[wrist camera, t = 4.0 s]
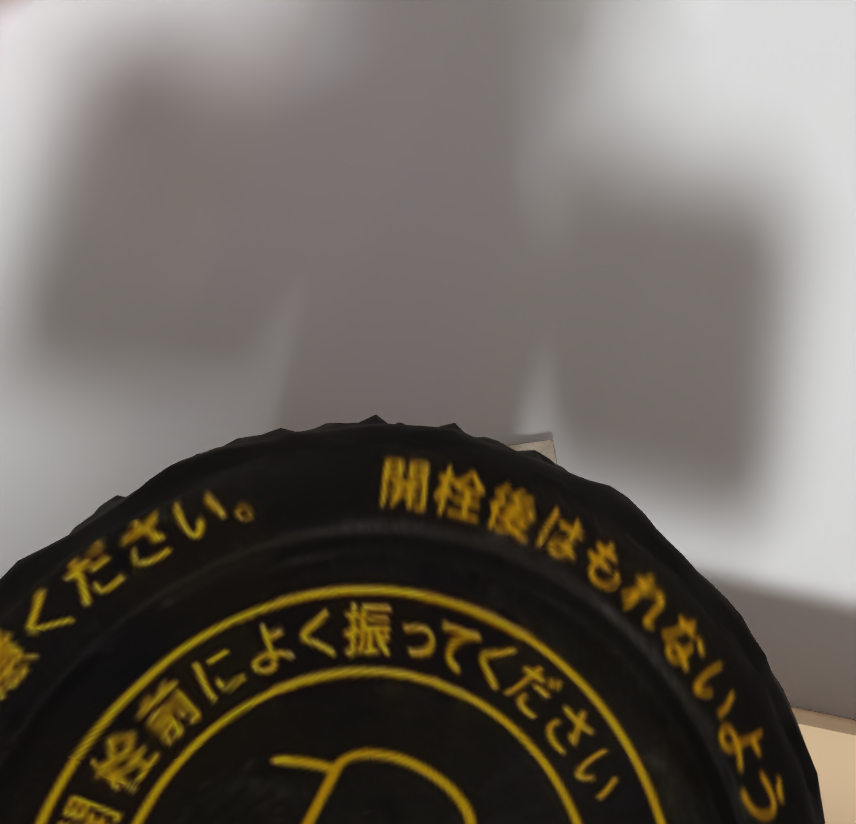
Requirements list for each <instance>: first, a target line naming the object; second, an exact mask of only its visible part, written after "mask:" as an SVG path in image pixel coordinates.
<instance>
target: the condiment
mask: <svg viewBox="0 0 856 824" xmlns="http://www.w3.org/2000/svg"><path fill="white" fill-rule="evenodd" d="M0 824H825V818H824V812H823V806H822V800H821V793H820V787H819V780H818V774H817V771H816V769H815V766H814V764H813V761H812V759H811V756H810V754H809V752H808V749H807V747H806V744H805V741H804V739H803V736H802V733H801V731H800V728H799V726H798V723H797V720H796V718H795V715H794V713H793V711H792V709H791V706H790V704H789V702H788V699H787V697H786V695H785V693H784V690H783V688H782V687H781V685H780V684H779V682H778V681H777V679H776V678H775V676H774V675H773V673H772V671H771V669H770V666H769V664H768V661H767V658H766V656H765V654H764V652H763V651H762V649H761V648H760V646H759V645H758V643H757V642H756V640H755V639H754V637H753V635H752V634H751V632H750V630H749V628H748V627H747V625H746V623H745V621H744V619H743V618H742V616H741V615H740V614H739V612H738V611H737V610H736V609H735V608H734V607H733V606H732V604H731V603H730V602H729V601H728V600H727V599H726V598H725V597H724V596H723V595H722V594H721V593H720V592H719V591H718V590H717V589H716V588H715V587H714V586H713V585H712V584H711V583H710V582H709V581H708V580H707V579H705V578H704V577H703V576H702V575H701V574H700V573H699V572H698V571H697V570H696V569H695V568H694V567H693V566H692V565H691V564H690V563H689V561H688V560H687V559H686V558H685V557H684V556H683V555H682V554H681V553H680V552H679V551H678V550H677V549H676V548H675V547H674V546H673V545H672V544H671V543H670V542H669V541H668V540H667V539H666V538H665V537H664V536H663V535H662V534H661V533H660V532H659V531H658V530H657V529H656V528H655V526H654V525H653V524H652V523H651V521H650V520H649V519H648V517H647V516H646V515H645V514H644V513H643V512H642V511H641V510H640V509H639V508H638V507H637V506H636V505H635V504H634V503H633V502H632V501H631V500H630V499H629V498H628V497H626V496H625V495H623V494H622V493H620V492H619V491H617V490H616V489H614V488H612V487H611V486H608V485H605V484H601V483H597V482H593V481H590V480H586V479H584V478H581V477H579V476H576V475H574V474H571V473H569V472H568V471H566V470H565V469H564V468H563V467H561V466H559V465H557V463H556V458H555V453H554V448H553V443H552V440H547V441H540V442H533V443H525V444H518V445H511V446H506V445H504V444H502V443H500V442H498V441H496V440H492V439H489V438H486V437H480V438H476V437H472V436H470V435H468V434H466V433H464V432H463V431H462V430H461V429H460V428H459V427H458V426H457V425H456V424H455V423H452V424H448V425H444V426H440V427H427V426H412V425H405V424H403V423H397V424H388V423H386V422H385V421H384V420H382V419H381V418H380V417H378V416H377V415H374V416H372V417H370V418H368V419H366V420H364V421H361V422H359V423H326V424H324V425H322V426H320V427H317V428H315V429H312V430H307V431H302V432H294V431H290V430H286V429H282V428H280V429H277V430H274V431H271V432H268V433H266V434H263V435H257V436H251V437H244V438H238V439H236V440H234V441H232V442H230V443H228V444H226V445H225V446H223V447H219V448H215V449H212V450H210V451H207V452H204V453H200V454H196V455H195V456H193V457H190V458H187V459H184V460H182V461H179V462H177V463H175V464H173V465H171V466H169V467H168V468H166V469H165V470H163V471H162V472H160V473H159V474H157V475H156V476H154V477H153V478H151V479H150V480H149V481H147V482H146V483H145V484H144V485H143V486H142V487H140V488H139V489H138V490H136V491H135V492H133V493H132V494H130V495H129V496H127V497H122V496H118V495H117V496H115V497H113V498H112V499H110V500H109V501H107V502H106V503H104V504H103V505H102V506H100V507H99V508H98V509H97V510H96V512H95V513H94V514H93V515H92V516H90V517H89V518H87V519H86V520H85V521H83V522H82V523H81V524H79V525H78V526H76V527H75V528H74V529H73V530H72V532H71V533H70V534H69V535H68V536H66V537H64V538H62V539H60V540H58V541H57V542H55V543H53V544H51V545H49V546H47V547H45V548H43V549H41V550H39V551H37V552H35V553H33V554H31V555H29V556H27V557H25V558H23V559H21V560H19V561H17V563H16V564H15V565H14V566H13V567H12V568H11V569H10V570H9V571H8V572H7V573H6V574H5V575H4V576H3V577H2V578H1V579H0Z"/></svg>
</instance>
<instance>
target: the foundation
mask: <svg viewBox="0 0 856 824" xmlns="http://www.w3.org/2000/svg"><path fill="white" fill-rule="evenodd" d="M791 709H792V711H793V713H794V715H795V718H796V720H797V723H798V726H799V728H800V731H801V733H802V736H803V739H804V741H805V744H806V747H807V749H808V752H809V754H810V756H811V759H812V761H813V764H814V766H815V769H816V771H817V774H818V780H819V787H820V793H821V800H822V806H823V812H824V818H825V824H856V720H852V719H847V718H843V717H838V716H833V715H828V714H824V713H819V712H814V711H810V710H805V709H800V708H796V707H791Z"/></svg>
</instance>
